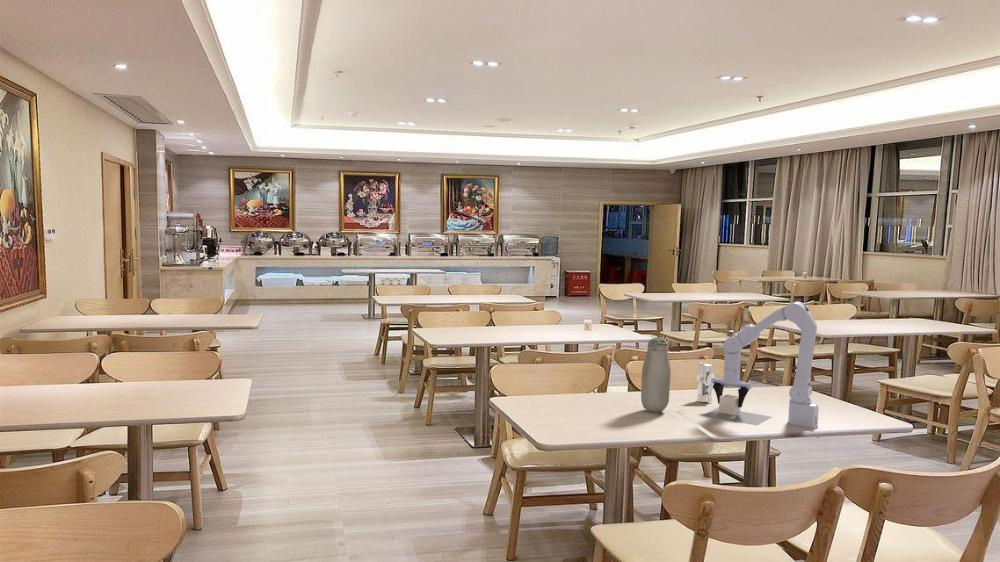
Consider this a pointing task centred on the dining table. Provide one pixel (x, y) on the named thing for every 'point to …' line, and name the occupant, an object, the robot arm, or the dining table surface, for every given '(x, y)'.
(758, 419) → the duct panel
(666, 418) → the dining table surface
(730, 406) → the collar
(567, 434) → the dining table surface
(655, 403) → the grey bottle
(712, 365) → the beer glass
